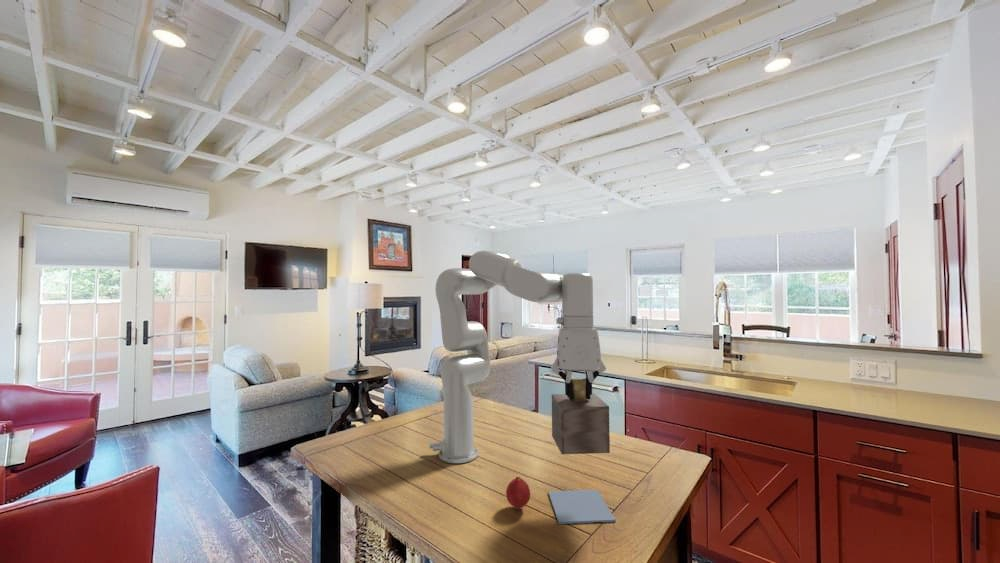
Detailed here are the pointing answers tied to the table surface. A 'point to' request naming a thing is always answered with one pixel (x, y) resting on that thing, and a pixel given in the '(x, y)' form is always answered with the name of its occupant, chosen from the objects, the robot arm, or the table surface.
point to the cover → (580, 422)
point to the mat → (580, 507)
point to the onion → (518, 493)
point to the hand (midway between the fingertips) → (578, 397)
